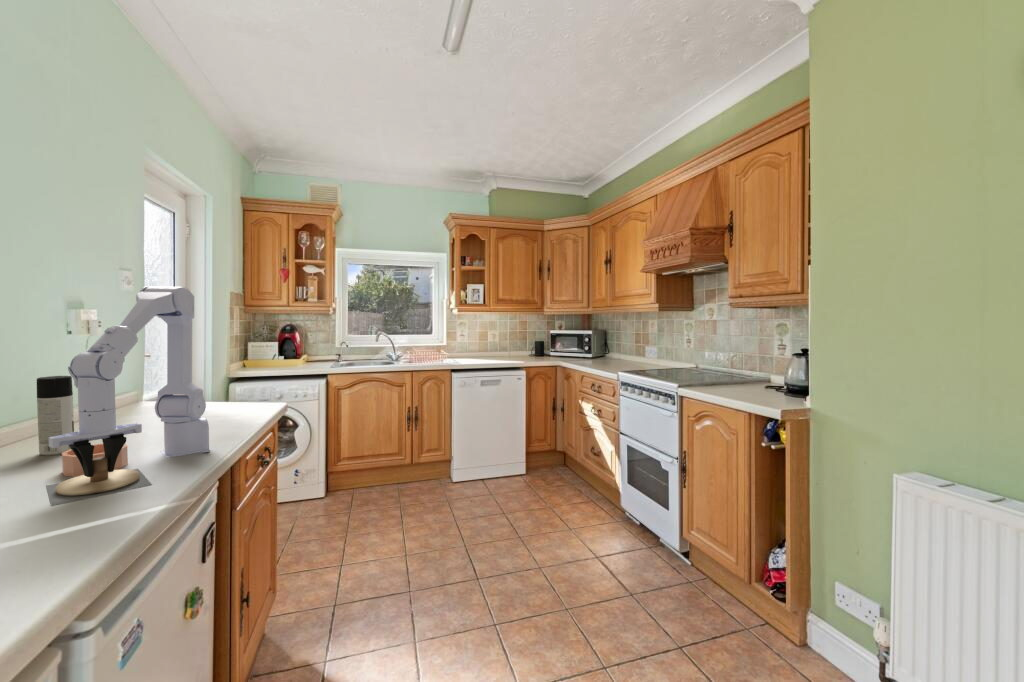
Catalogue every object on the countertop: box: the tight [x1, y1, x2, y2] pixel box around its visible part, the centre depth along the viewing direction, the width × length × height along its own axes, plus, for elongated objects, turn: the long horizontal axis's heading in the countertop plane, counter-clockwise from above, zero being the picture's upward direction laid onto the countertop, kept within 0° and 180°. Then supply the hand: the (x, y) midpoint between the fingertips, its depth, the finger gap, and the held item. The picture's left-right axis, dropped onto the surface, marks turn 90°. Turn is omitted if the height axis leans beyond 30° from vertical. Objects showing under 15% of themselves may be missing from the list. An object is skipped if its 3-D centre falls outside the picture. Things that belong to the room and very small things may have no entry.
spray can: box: [36, 375, 75, 456], centre depth 119 cm, size 7×7×20 cm
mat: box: [45, 468, 153, 507], centre depth 95 cm, size 15×15×1 cm
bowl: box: [61, 443, 129, 478], centre depth 106 cm, size 11×11×5 cm
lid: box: [56, 457, 140, 495], centre depth 95 cm, size 13×13×5 cm
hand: (99, 473), depth 95 cm, fingers closed on lid, 3 cm apart
